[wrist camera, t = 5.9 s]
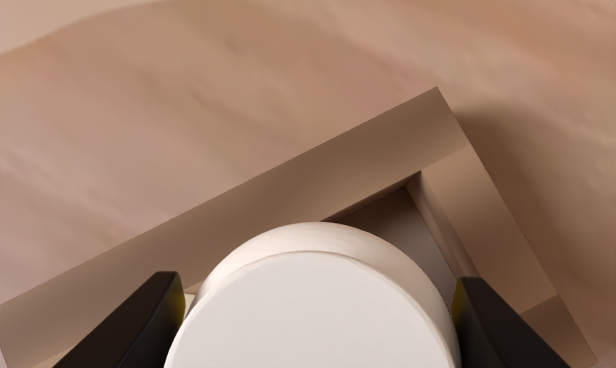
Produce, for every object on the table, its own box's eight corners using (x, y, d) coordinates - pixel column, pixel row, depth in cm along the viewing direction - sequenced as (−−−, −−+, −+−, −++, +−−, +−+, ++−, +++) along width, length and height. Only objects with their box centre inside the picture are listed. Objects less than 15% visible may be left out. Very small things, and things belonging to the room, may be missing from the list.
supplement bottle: (292, 211, 16) (239, 129, 7) (435, 291, 16) (600, 322, 6) (211, 355, 16) (23, 490, 6) (357, 445, 15) (406, 755, 5)
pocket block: (548, 344, 22) (603, 363, 17) (145, 558, 21) (98, 633, 17) (418, 116, 24) (438, 83, 19) (45, 303, 23) (-19, 312, 18)
